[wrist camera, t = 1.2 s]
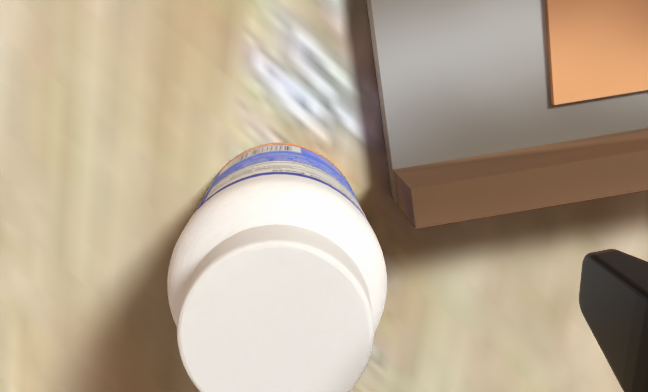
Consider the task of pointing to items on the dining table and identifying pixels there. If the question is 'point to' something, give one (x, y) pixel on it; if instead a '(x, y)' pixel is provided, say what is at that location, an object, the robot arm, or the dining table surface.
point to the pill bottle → (277, 278)
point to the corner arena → (510, 103)
